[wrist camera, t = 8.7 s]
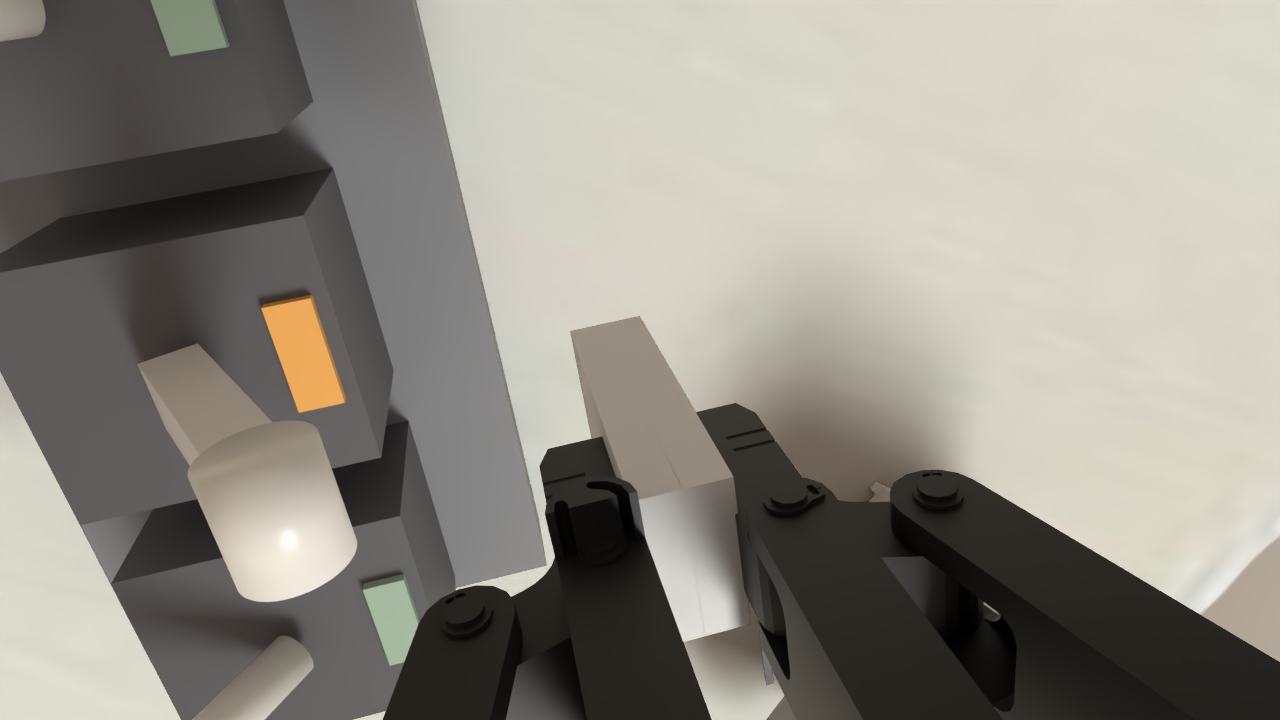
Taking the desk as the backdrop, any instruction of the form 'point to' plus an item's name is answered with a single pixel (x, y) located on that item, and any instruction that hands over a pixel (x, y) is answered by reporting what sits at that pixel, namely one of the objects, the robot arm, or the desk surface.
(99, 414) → the breaker board
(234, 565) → the handle
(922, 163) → the desk surface
